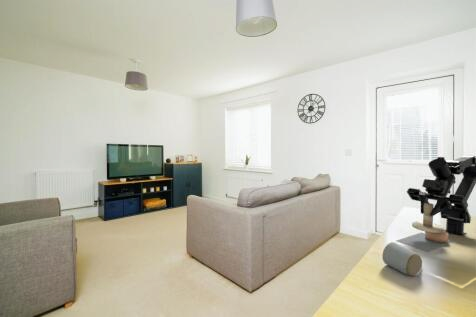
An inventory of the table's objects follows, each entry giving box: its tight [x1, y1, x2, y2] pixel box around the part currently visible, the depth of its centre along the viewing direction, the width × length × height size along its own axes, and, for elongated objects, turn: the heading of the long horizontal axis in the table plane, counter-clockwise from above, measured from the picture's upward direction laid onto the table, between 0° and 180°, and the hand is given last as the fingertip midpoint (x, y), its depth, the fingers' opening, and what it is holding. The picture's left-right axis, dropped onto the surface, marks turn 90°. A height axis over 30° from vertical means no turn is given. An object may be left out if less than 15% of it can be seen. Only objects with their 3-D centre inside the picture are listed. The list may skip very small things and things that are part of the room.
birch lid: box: [411, 202, 445, 233], centre depth 91 cm, size 10×10×10 cm
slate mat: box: [396, 232, 453, 253], centre depth 92 cm, size 20×11×1 cm, turn 117°
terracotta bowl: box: [424, 231, 449, 243], centre depth 93 cm, size 7×7×4 cm
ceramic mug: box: [382, 241, 423, 277], centre depth 72 cm, size 11×8×8 cm
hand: (426, 214), depth 90 cm, fingers closed on birch lid, 3 cm apart
